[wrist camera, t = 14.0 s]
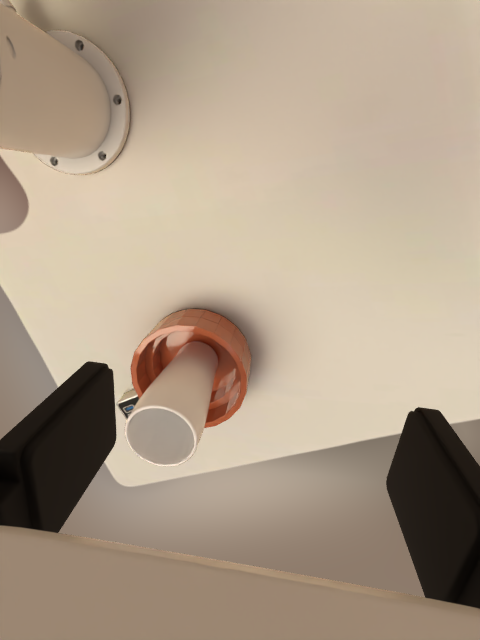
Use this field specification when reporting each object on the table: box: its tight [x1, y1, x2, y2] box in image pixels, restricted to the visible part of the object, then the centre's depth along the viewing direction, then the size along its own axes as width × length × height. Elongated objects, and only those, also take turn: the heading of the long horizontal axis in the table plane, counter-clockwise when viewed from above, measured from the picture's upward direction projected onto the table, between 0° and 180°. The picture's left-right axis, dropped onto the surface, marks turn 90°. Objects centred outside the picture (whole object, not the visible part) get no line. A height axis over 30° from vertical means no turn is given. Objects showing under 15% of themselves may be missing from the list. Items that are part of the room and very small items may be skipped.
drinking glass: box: [125, 342, 218, 466], centre depth 37 cm, size 7×7×15 cm
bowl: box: [131, 309, 251, 428], centre depth 41 cm, size 13×13×6 cm
